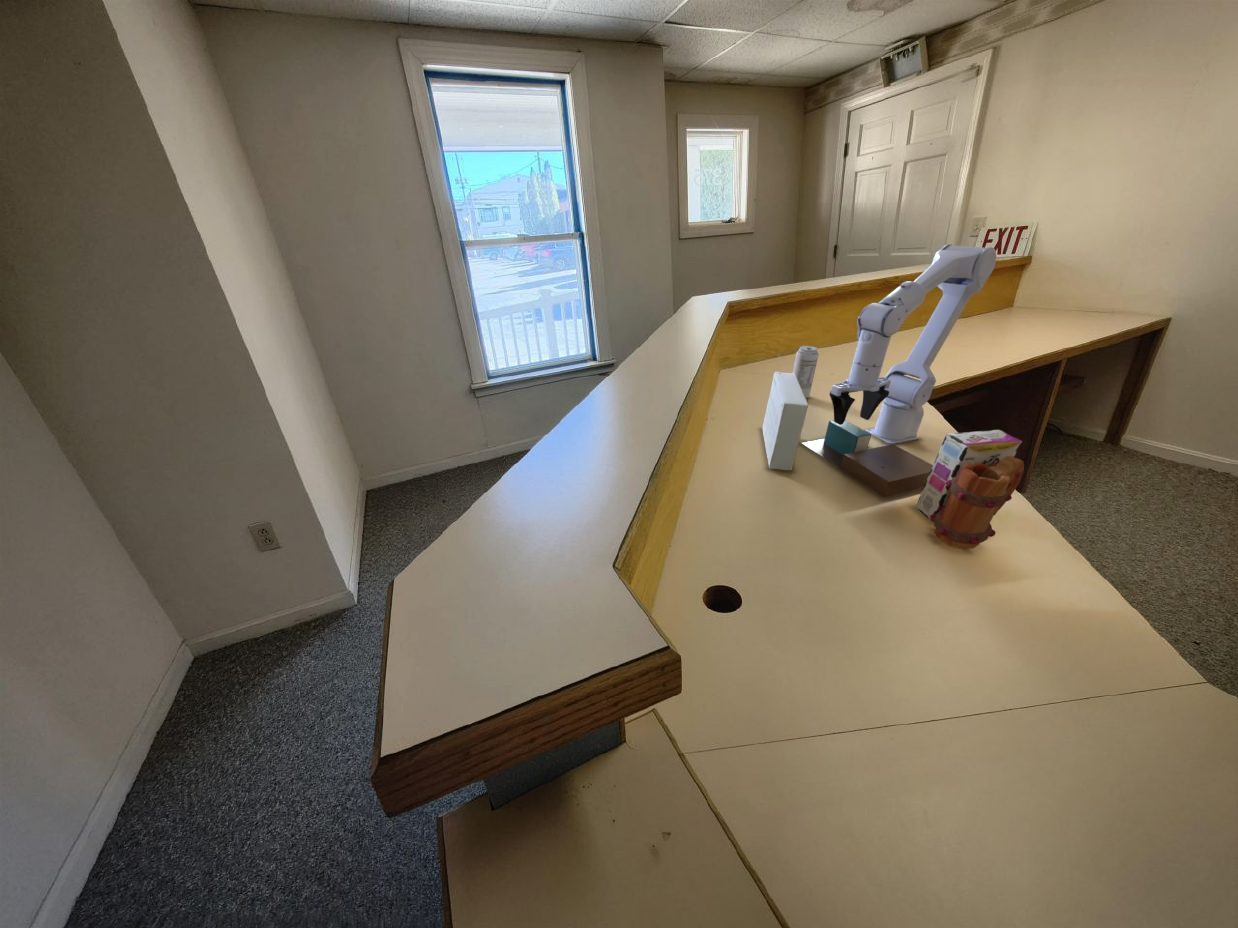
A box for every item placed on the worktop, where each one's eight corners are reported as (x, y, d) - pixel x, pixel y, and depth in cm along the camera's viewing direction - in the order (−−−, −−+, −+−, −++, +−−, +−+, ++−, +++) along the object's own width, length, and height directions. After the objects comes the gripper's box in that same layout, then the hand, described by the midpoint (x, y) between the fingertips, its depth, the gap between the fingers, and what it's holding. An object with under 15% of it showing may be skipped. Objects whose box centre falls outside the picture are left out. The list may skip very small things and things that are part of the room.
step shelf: (846, 435, 115) (850, 421, 113) (934, 485, 95) (941, 469, 93) (800, 444, 111) (804, 429, 109) (883, 498, 91) (888, 481, 89)
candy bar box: (933, 524, 84) (967, 445, 75) (913, 508, 88) (943, 432, 80) (985, 517, 85) (1024, 440, 77) (963, 502, 90) (998, 427, 81)
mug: (959, 562, 75) (997, 485, 67) (914, 533, 81) (944, 461, 74) (1014, 539, 80) (1055, 465, 72) (967, 513, 86) (1000, 444, 79)
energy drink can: (806, 393, 141) (816, 345, 133) (811, 400, 135) (822, 351, 128) (786, 392, 141) (795, 344, 133) (790, 400, 136) (800, 350, 128)
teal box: (836, 440, 112) (842, 418, 109) (865, 457, 105) (872, 434, 102) (823, 443, 111) (828, 420, 108) (851, 460, 103) (858, 437, 100)
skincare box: (794, 472, 100) (809, 405, 92) (768, 469, 101) (781, 403, 93) (783, 430, 118) (795, 371, 110) (761, 429, 119) (771, 370, 111)
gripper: (855, 372, 92) (838, 432, 99) (909, 364, 96) (890, 422, 103) (830, 362, 97) (816, 419, 104) (882, 355, 102) (865, 411, 108)
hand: (851, 420), depth 104 cm, fingers open, 7 cm apart
